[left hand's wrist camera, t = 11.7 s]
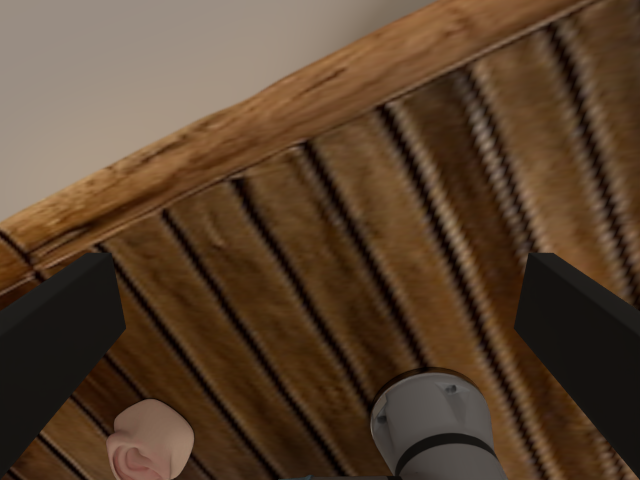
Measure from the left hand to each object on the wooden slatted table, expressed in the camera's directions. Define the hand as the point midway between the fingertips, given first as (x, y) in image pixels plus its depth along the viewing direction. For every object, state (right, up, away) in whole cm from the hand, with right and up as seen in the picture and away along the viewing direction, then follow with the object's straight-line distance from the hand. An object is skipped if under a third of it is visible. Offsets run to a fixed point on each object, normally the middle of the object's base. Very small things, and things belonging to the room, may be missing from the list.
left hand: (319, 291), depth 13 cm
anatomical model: (-23, -26, +41) cm, 53 cm away
